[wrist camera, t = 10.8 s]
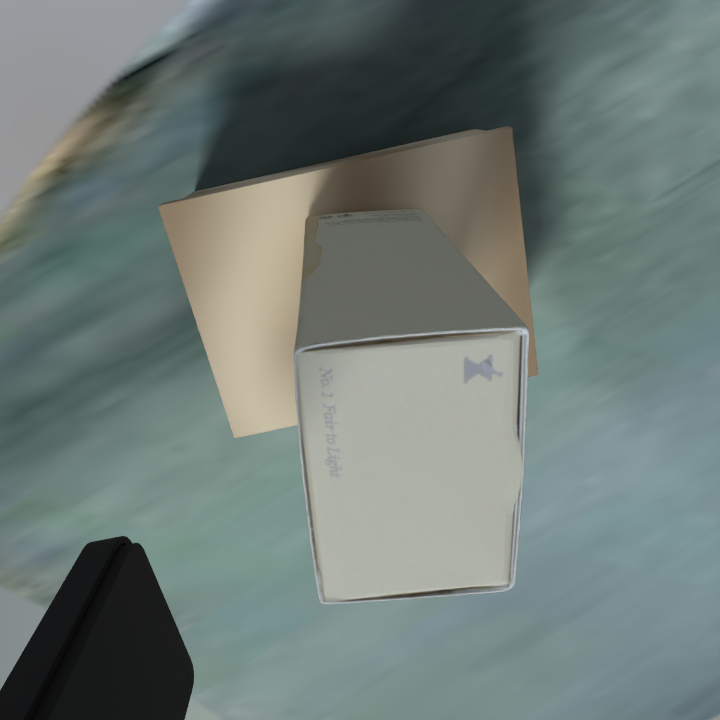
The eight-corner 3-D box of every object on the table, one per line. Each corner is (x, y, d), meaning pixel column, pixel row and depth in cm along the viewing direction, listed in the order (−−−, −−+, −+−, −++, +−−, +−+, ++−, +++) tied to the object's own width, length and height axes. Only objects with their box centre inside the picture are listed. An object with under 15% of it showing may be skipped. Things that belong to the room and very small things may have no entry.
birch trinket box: (478, 122, 26) (512, 127, 21) (505, 331, 29) (538, 374, 25) (188, 187, 26) (158, 206, 22) (249, 386, 30) (234, 438, 25)
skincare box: (303, 213, 22) (279, 330, 11) (430, 206, 22) (537, 314, 11) (317, 377, 24) (309, 613, 13) (431, 369, 24) (519, 597, 13)
